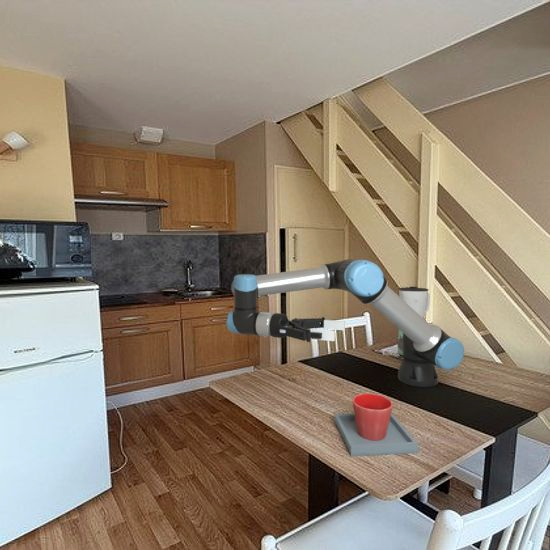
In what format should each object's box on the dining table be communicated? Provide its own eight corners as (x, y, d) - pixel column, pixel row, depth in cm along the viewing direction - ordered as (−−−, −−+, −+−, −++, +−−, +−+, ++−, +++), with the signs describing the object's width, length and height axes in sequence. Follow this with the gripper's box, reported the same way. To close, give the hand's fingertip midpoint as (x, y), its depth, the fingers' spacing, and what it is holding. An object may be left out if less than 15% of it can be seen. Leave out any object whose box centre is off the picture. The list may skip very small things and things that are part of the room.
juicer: (411, 364, 162) (413, 289, 159) (389, 356, 173) (390, 286, 171) (437, 357, 171) (439, 286, 168) (414, 350, 183) (416, 284, 180)
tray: (390, 419, 110) (390, 411, 109) (418, 452, 92) (418, 443, 92) (334, 421, 108) (334, 414, 108) (351, 456, 91) (351, 447, 90)
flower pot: (386, 448, 92) (386, 413, 92) (346, 436, 98) (347, 403, 98) (396, 430, 101) (396, 398, 101) (359, 421, 107) (359, 390, 107)
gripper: (287, 328, 122) (348, 333, 113) (255, 346, 99) (329, 355, 90) (287, 307, 121) (348, 310, 113) (255, 320, 98) (329, 327, 90)
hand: (340, 330), depth 102 cm, fingers open, 13 cm apart
